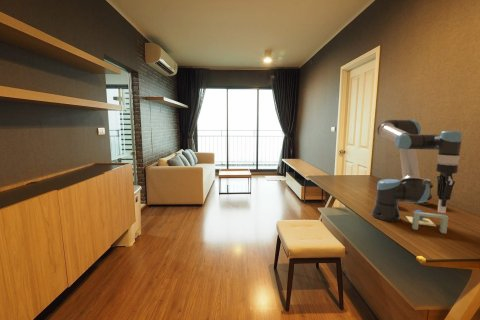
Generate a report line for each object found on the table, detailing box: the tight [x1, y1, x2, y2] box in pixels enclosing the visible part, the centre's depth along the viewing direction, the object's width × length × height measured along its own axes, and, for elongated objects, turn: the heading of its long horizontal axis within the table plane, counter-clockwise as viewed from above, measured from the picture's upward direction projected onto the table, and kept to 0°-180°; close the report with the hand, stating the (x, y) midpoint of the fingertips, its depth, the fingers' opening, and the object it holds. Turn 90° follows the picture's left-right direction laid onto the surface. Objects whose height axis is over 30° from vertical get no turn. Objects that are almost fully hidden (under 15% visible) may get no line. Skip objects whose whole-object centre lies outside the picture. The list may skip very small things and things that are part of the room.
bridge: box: [411, 210, 449, 235], centre depth 130 cm, size 3×14×9 cm, turn 69°
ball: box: [415, 209, 425, 219], centre depth 147 cm, size 6×6×6 cm
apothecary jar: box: [416, 178, 434, 206], centre depth 178 cm, size 12×12×18 cm
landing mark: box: [405, 215, 437, 227], centre depth 144 cm, size 12×12×1 cm
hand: (441, 212), depth 117 cm, fingers closed
